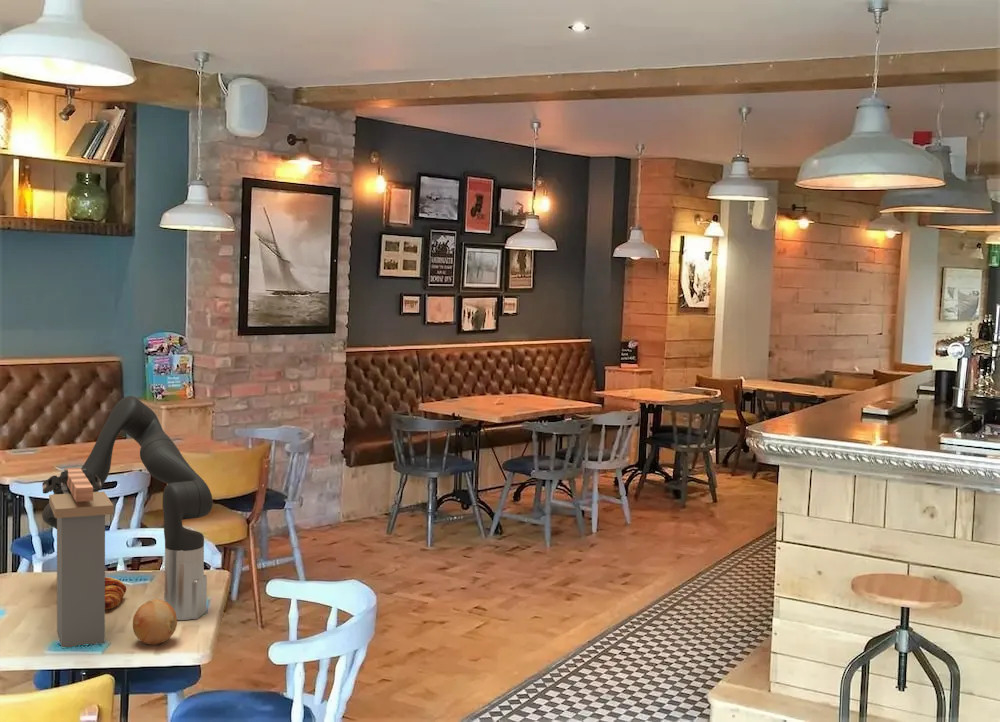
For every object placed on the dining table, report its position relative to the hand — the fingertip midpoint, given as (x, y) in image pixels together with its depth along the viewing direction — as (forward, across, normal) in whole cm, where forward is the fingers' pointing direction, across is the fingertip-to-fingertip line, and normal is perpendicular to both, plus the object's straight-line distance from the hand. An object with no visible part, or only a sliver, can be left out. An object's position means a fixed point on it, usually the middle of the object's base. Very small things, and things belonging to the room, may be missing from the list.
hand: (75, 473), depth 246 cm
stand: (-9, 0, +37) cm, 38 cm away
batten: (+3, 0, +5) cm, 6 cm away
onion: (0, +15, +42) cm, 45 cm away
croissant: (-31, +8, +24) cm, 41 cm away
